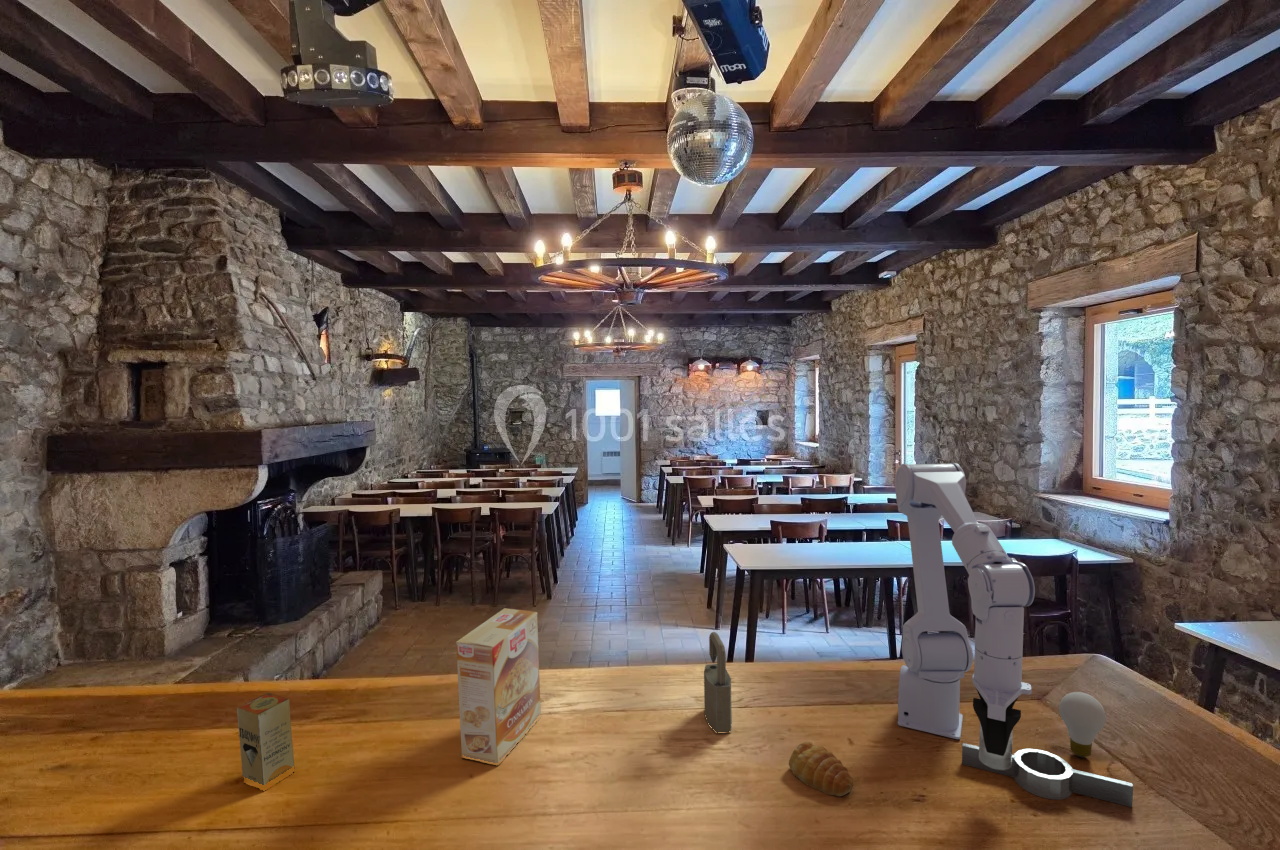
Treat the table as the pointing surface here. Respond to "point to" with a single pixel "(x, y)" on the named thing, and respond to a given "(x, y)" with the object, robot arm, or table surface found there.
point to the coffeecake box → (498, 683)
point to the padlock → (717, 687)
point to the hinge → (1054, 776)
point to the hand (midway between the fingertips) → (995, 744)
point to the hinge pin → (993, 759)
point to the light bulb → (1082, 720)
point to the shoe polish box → (265, 738)
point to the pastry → (820, 769)
